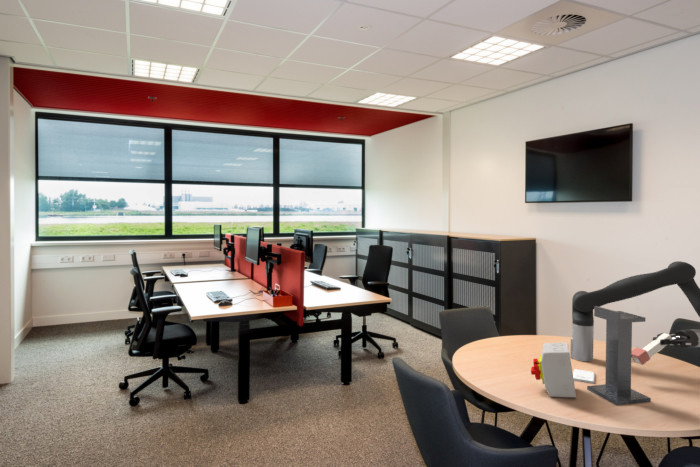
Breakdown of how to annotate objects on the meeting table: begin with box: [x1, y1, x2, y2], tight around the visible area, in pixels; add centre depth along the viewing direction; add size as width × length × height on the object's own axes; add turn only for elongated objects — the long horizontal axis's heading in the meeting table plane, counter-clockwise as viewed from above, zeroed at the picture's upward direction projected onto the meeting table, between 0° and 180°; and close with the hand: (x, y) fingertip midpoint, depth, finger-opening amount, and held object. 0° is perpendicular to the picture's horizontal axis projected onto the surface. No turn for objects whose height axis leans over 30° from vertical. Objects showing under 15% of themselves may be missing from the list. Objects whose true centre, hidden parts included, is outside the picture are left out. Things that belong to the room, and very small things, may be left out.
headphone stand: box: [586, 306, 652, 406], centre depth 169 cm, size 15×15×34 cm
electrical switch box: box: [530, 341, 577, 398], centre depth 175 cm, size 15×15×20 cm
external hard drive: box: [572, 368, 596, 385], centre depth 189 cm, size 2×8×12 cm
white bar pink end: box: [631, 332, 671, 366], centre depth 183 cm, size 18×4×4 cm
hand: (657, 341), depth 183 cm, fingers closed on white bar pink end, 3 cm apart
